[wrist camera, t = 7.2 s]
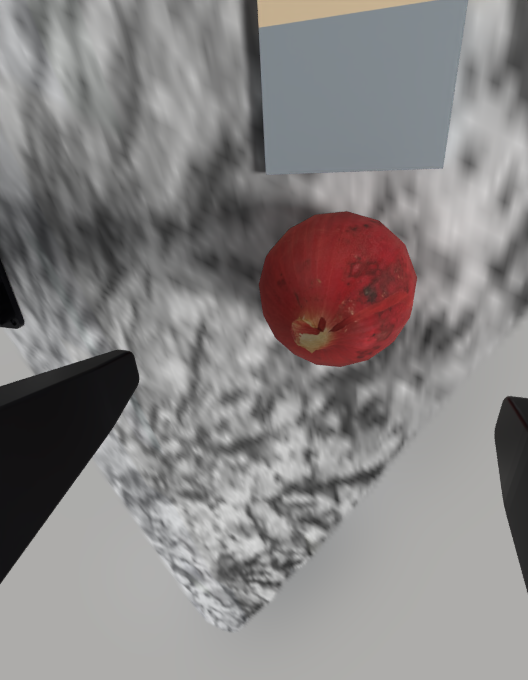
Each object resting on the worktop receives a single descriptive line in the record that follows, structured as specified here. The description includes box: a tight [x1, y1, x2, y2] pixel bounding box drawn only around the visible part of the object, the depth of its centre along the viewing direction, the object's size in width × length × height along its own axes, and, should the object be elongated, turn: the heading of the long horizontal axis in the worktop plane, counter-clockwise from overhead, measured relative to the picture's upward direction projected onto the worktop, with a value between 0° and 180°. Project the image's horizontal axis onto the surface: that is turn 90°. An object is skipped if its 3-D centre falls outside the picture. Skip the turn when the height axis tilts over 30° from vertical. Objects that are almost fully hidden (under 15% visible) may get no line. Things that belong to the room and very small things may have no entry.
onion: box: [259, 211, 417, 367], centre depth 15 cm, size 6×6×8 cm
